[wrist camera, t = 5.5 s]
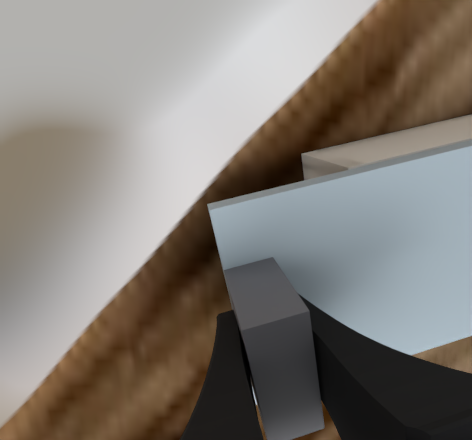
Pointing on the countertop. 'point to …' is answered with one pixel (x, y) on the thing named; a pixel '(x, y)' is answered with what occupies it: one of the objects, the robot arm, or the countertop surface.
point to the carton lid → (347, 270)
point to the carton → (386, 147)
